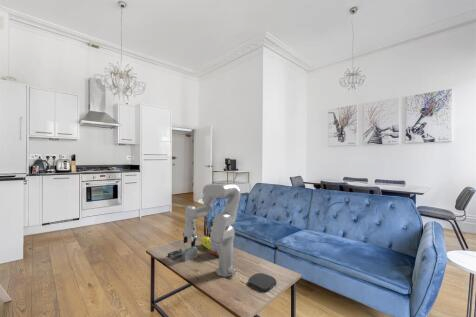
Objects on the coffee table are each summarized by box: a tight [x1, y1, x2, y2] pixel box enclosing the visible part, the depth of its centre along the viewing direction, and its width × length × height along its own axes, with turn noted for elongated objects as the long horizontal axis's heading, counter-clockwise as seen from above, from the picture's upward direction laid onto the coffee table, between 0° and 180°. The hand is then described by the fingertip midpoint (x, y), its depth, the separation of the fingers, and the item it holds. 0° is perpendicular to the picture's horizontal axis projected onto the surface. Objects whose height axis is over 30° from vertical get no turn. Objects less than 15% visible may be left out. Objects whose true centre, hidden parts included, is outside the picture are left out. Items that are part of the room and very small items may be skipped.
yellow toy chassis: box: [201, 236, 210, 251], centre depth 188 cm, size 16×6×8 cm, turn 35°
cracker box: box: [209, 226, 219, 257], centre depth 175 cm, size 14×6×21 cm, turn 53°
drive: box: [181, 246, 198, 262], centre depth 167 cm, size 5×11×7 cm, turn 138°
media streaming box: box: [247, 272, 277, 293], centre depth 134 cm, size 15×15×3 cm
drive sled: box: [167, 248, 183, 261], centre depth 171 cm, size 9×12×2 cm
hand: (189, 244), depth 168 cm, fingers open, 9 cm apart
